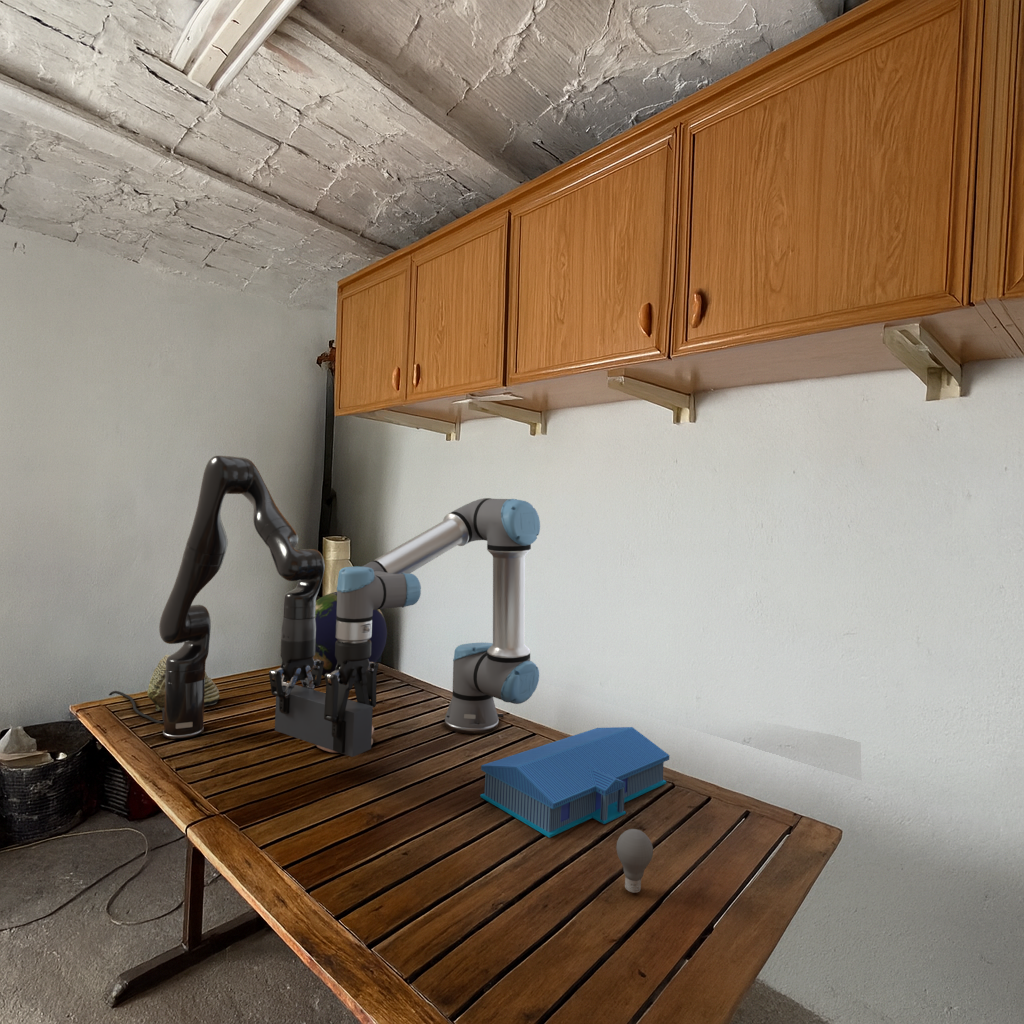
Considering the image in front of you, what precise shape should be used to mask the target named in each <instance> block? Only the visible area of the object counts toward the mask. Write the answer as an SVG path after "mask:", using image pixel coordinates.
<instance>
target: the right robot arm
mask: <svg viewBox="0 0 1024 1024" xmlns="http://www.w3.org/2000/svg"><path fill="white" fill-rule="evenodd" d="M540 531H541V521H540V515H539V513H538V511H537V510H536V508H535V507H534V506H533V504H531V503H530V502H529V501H526V500H521V499H517V498H492V497H491V498H490V497H484V498H479V499H476V500H473V501H470V502H468V503H466V504H464V505H462V506H460V507H457V508H456V509H454V510H452V511H450V512H449V513H447V514H446V515H445V516H444V517H443V519H442V521H441V522H439V523H437V524H435V525H434V526H432V527H430V528H428V529H427V530H424V531H423V532H421V533H420V534H417V535H415V536H414V537H412V538H411V539H408V540H406V541H405V542H404V543H402V544H400V545H397V546H396V547H394V548H393V549H391V550H389V551H387V552H385V553H384V554H382V555H380V556H378V557H377V558H375V559H373V560H371V561H369V562H368V563H366V564H363V565H361V566H360V565H358V566H357V565H355V566H345V567H342V568H341V569H340V570H339V572H338V577H337V583H336V592H337V619H336V638H337V639H338V640H337V641H336V642H335V657H336V659H337V665H336V668H335V671H333V672H332V673H326V674H325V676H324V681H325V693H326V695H325V710H324V719H325V720H328V721H331V722H332V737H333V751H336V752H339V753H338V754H342V753H344V752H345V728H346V722H345V721H343V717H344V713H345V709H346V704H347V700H348V699H349V695H350V691H351V690H352V689H353V686H354V693H355V699H356V702H359V703H363V704H366V705H370V706H373V709H375V708H376V707H377V673H378V669H379V662H376V663H374V662H370V661H369V660H368V658H370V656H371V640H370V638H371V636H372V616H373V610H378V609H380V610H385V609H395V608H405V607H411V606H414V605H416V604H417V603H418V601H420V598H421V595H422V593H421V592H422V586H421V582H420V580H419V578H418V576H416V574H413V573H414V572H415V571H417V570H419V569H420V568H422V567H423V566H425V565H427V564H428V563H430V562H431V561H434V560H435V559H437V558H438V557H440V556H441V555H443V554H445V553H447V552H449V551H450V550H452V549H453V548H455V547H457V546H458V547H463V546H465V545H467V544H470V543H471V542H475V541H476V542H477V541H486V550H487V552H489V554H490V555H491V556H492V642H470V643H469V642H468V643H463V644H460V645H457V646H456V647H455V649H454V652H453V658H452V659H453V660H452V661H453V662H452V695H451V699H450V703H449V705H448V708H447V710H446V714H445V717H444V726H445V727H446V728H447V729H448V730H450V731H452V732H455V733H459V734H467V735H481V734H486V733H490V732H493V731H495V730H497V729H498V728H499V718H504V714H502V713H498V711H497V708H496V704H495V700H494V698H495V699H498V700H500V701H503V702H504V703H510V704H515V705H520V704H523V703H525V702H527V701H528V700H530V699H531V697H532V696H533V695H534V693H535V691H536V690H537V687H538V685H539V681H540V669H539V667H538V666H537V664H536V663H535V662H534V661H532V660H531V649H530V648H529V646H527V645H526V640H525V639H526V636H525V635H526V606H525V605H526V556H527V555H528V554H529V553H530V552H531V550H532V544H534V543H535V542H536V541H537V539H538V536H539V535H540ZM337 715H338V716H337Z"/></svg>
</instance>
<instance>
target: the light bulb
mask: <svg viewBox="0 0 1024 1024" xmlns="http://www.w3.org/2000/svg"><path fill="white" fill-rule="evenodd" d="M615 849H616V854H617V857H618V859H619V861H620V863H621V865H622V867H623V873H624V874H623V875H624V876H625V878H624V888H625V890H627V891H628V892H630V893H634V894H635V893H639V892H640V891H641V889H642V887H641V886H642V879H643V877H644V875H645V871H646V868H647V867H648V866H649V864H650V863H651V861H652V859H653V855H654V847H653V843H652V841H651V838H649V836H648V835H647V834H646V833H645V832H643V831H642V830H641V829H636V828H629V829H627V830H625V831H623V832H622V833H621V834H620V835H619V837H618V839H617V841H616V847H615Z"/></svg>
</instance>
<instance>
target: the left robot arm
mask: <svg viewBox="0 0 1024 1024" xmlns="http://www.w3.org/2000/svg"><path fill="white" fill-rule="evenodd" d="M201 480H202V481H201V485H200V490H199V496H198V500H197V506H196V511H195V513H194V518H193V522H192V524H191V529H190V532H189V535H188V538H187V540H186V543H185V547H184V550H183V554H182V557H181V562H180V565H179V569H178V572H177V575H176V578H175V581H174V584H173V587H172V590H171V591H170V594H169V596H168V599H167V601H166V603H165V605H164V608H163V610H162V613H161V616H160V619H159V625H158V631H159V637H160V638H161V640H162V641H163V642H164V643H165V644H168V645H177V644H178V645H179V644H182V646H180V648H179V649H178V650H177V651H175V652H173V653H172V654H169V655H170V656H169V657H168V658H167V660H166V674H165V705H164V708H163V709H162V711H161V713H162V715H161V716H162V717H161V721H160V720H157V719H156V718H153V717H152V716H150V715H147V714H145V713H144V712H142V711H140V710H139V709H138V708H137V704H136V701H135V700H134V698H133V697H132V696H130V695H128V694H126V693H124V692H122V691H119V690H112V691H111V692H110V693H108V696H112V695H114V694H116V695H120V696H122V697H124V698H125V699H128V700H129V701H130V702H131V705H132V709H133V711H134V712H135V713H136V714H137V715H139V716H140V717H143V718H145V719H147V720H149V721H151V722H153V723H157V724H161V725H162V724H163V730H162V737H164V738H166V739H169V740H185V739H190V738H191V739H192V738H194V737H197V736H199V735H202V734H203V732H204V730H205V729H204V727H205V725H204V722H205V721H204V718H205V706H204V693H205V672H206V664H207V663H206V662H207V658H208V655H209V651H210V639H211V628H212V621H211V620H212V619H211V614H210V612H209V610H208V608H207V607H206V606H205V605H203V604H193V603H194V600H195V599H196V597H197V596H198V594H199V593H200V592H201V591H202V590H203V589H204V588H205V587H206V586H207V585H208V584H209V583H210V582H211V581H212V579H214V577H215V576H216V575H217V573H218V572H220V570H221V568H222V565H223V562H224V559H225V556H226V553H227V550H228V544H229V541H228V540H229V539H228V535H227V532H226V529H225V527H224V524H223V521H222V520H223V519H222V516H221V513H222V512H221V511H222V506H223V503H224V498H225V496H226V495H243V497H245V498H246V500H248V501H249V502H250V504H251V506H252V510H253V511H252V516H253V517H252V522H253V523H252V524H253V526H254V529H255V531H256V533H257V534H258V536H259V538H260V539H261V540H262V541H263V543H264V544H265V546H266V547H267V548H268V549H269V551H270V556H271V558H272V561H273V564H274V567H275V571H276V573H277V574H278V575H279V576H280V577H281V578H282V579H284V580H286V581H288V582H297V584H296V587H295V588H294V589H291V590H289V591H288V592H286V593H285V594H284V597H283V608H282V609H283V610H282V623H281V632H280V633H281V634H280V658H281V664H280V666H279V668H277V669H270V670H269V671H268V678H269V684H270V690H271V691H270V692H271V695H272V696H275V697H276V696H278V697H279V710H280V711H281V713H283V714H288V713H289V705H290V698H289V696H290V693H291V690H292V688H294V686H295V685H296V684H297V683H298V682H301V686H302V687H305V688H309V689H313V690H315V688H316V687H320V685H321V683H322V677H323V676H322V672H323V666H324V661H322V660H318V659H313V657H314V656H315V644H316V620H315V611H316V601H317V597H318V594H319V592H320V588H321V584H322V581H323V577H324V575H325V574H324V573H325V567H326V566H325V559H324V557H323V555H322V553H321V552H320V551H319V550H318V549H314V548H303V549H302V548H301V549H295V547H297V545H298V543H299V535H298V533H297V532H296V530H295V529H294V527H293V526H292V525H291V524H290V521H288V520H287V519H286V517H285V515H283V513H282V512H281V510H280V509H279V507H278V506H277V504H276V502H275V501H274V499H273V497H272V494H271V492H270V490H269V488H268V487H267V484H266V483H265V481H264V479H263V477H262V475H261V473H260V471H259V469H258V467H257V466H256V465H255V463H254V462H253V461H252V460H251V459H249V458H247V457H243V456H230V455H214V456H212V457H211V458H210V459H209V460H208V461H207V462H206V466H205V468H204V471H203V475H202V479H201ZM286 687H287V688H286ZM285 689H286V691H285Z"/></svg>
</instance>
